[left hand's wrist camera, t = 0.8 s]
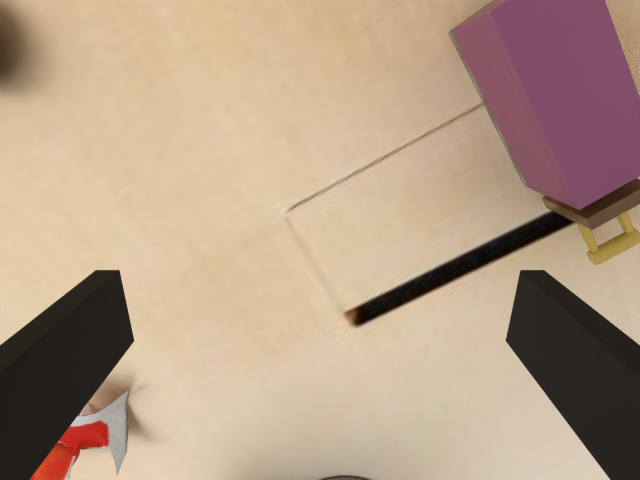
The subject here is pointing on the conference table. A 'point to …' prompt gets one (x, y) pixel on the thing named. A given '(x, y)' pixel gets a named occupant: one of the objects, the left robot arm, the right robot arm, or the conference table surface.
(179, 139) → the conference table surface
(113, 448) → the fish
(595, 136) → the cabinet
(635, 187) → the drawer
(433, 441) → the conference table surface
